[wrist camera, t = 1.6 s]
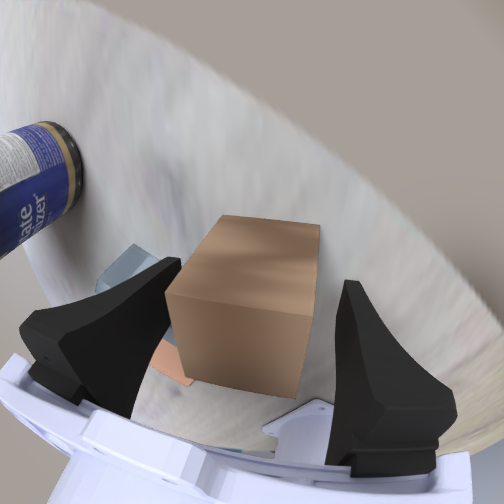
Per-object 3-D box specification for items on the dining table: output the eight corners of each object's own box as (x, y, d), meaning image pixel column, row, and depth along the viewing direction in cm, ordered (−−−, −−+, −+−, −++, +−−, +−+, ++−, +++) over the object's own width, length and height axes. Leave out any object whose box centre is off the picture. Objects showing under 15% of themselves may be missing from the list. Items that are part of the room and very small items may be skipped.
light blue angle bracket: (255, 320, 17) (240, 367, 14) (185, 392, 23) (171, 424, 20) (133, 243, 16) (97, 278, 13) (104, 342, 22) (84, 370, 20)
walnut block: (320, 224, 13) (313, 316, 8) (309, 302, 15) (295, 399, 10) (222, 214, 14) (164, 292, 9) (226, 290, 16) (185, 377, 11)
